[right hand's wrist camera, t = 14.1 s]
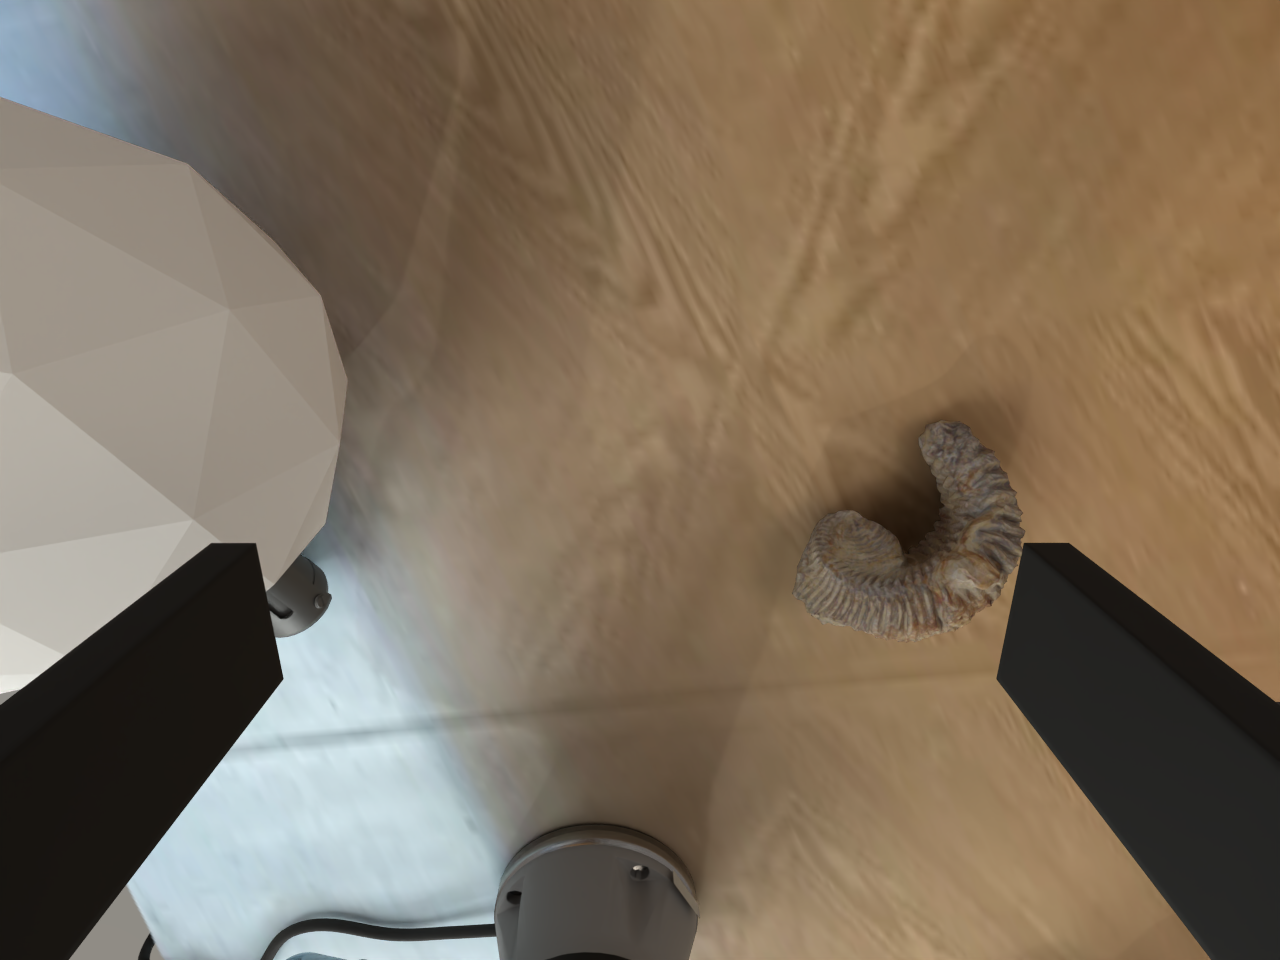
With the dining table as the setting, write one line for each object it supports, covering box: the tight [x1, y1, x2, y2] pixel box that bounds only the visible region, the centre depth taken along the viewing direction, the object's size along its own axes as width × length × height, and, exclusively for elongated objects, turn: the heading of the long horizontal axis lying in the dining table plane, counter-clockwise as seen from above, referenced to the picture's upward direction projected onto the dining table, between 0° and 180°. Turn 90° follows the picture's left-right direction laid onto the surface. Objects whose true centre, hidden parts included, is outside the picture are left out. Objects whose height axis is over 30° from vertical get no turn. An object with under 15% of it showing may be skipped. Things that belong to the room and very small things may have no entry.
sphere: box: [0, 97, 348, 694], centre depth 33 cm, size 23×30×24 cm
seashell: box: [792, 420, 1025, 642], centre depth 42 cm, size 14×10×10 cm
